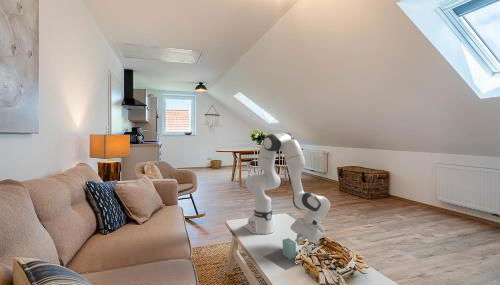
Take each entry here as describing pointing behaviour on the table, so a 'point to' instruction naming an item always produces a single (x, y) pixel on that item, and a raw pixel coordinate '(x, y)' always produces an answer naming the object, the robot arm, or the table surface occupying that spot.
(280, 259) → the mat
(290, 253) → the box
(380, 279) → the table surface
